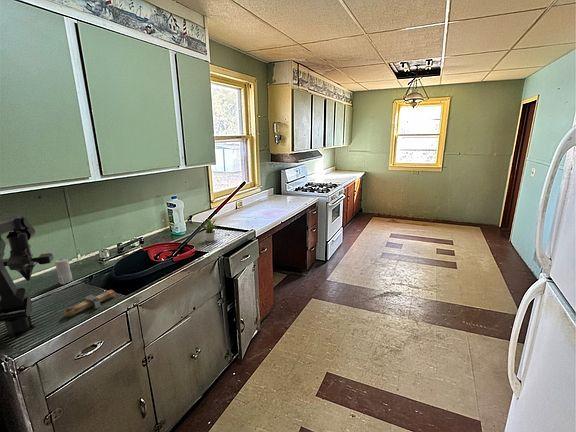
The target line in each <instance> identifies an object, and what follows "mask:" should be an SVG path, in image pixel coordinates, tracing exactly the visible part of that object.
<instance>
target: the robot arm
mask: <svg viewBox="0 0 576 432" xmlns="http://www.w3.org/2000/svg"><path fill="white" fill-rule="evenodd" d="M5 233H8V234H7V235H6V240H7V241H8V245H9V247H10V251H9V258H4V256H5V249H6V242H5V240H4V239H3V237H2V235H3V234H5ZM35 234H36V229H35V228H34V227H33V226H32V224H31V223H30V221H29V220H28V218H27V217H25V216H24V215H23V214H17V215H16V214H15V215H5V216H2V217H0V323H2V322H4V326H5V329H6V332H5V333H4V335H5V336H8V337H9V336H10V337H16V338H19V337H21V336H22V335H24V334H25V333H27V332H29V331H31V330H32V329H33V328H35V327H36V325H34V324H33V321H32V317H31V313H32V312H33V305H32V298H31V296H29V293H28V292H27V290H26V288H24V287H20V288H18V287H17V286H16V284H15V282H14V281H13V279H12V276H11V275H10V273H9V271H8V269H9V270H10V271H16V272H18V274H21V276H22V277H23V278H24V279H25V281H27V282H28V281H30V280H31V278H32V275H33V274H32V273H33V269H34V267H36V265H37V264H39V265H47V264H50V263H52V261H53V260H54V259H55V258H54V254H53V253H52V252H47V253H41V254H39V256H37V257H36V256H35V257H34V255H33V253H32V251H31V248H32V247H31V246H32V245H31V244H30V243H29V240H30V239H31V238H33V237H34V236H35ZM6 267H8V269H7V268H6Z"/></svg>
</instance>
